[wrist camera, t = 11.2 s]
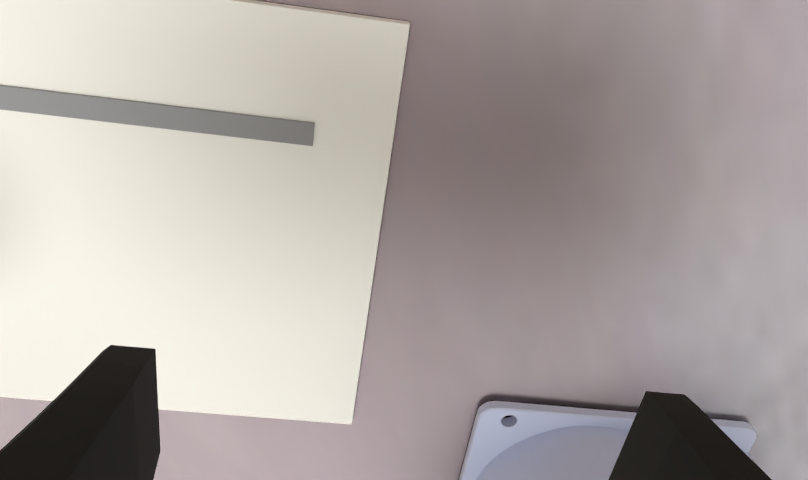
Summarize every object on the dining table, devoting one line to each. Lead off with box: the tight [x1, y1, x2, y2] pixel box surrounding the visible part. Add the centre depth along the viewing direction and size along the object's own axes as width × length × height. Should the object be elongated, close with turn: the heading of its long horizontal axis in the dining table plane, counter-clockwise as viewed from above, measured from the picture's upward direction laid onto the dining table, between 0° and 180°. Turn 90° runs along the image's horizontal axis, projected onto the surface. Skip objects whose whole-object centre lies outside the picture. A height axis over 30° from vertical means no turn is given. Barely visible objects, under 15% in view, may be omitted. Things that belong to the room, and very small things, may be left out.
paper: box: [0, 0, 410, 424], centre depth 19 cm, size 16×13×1 cm
